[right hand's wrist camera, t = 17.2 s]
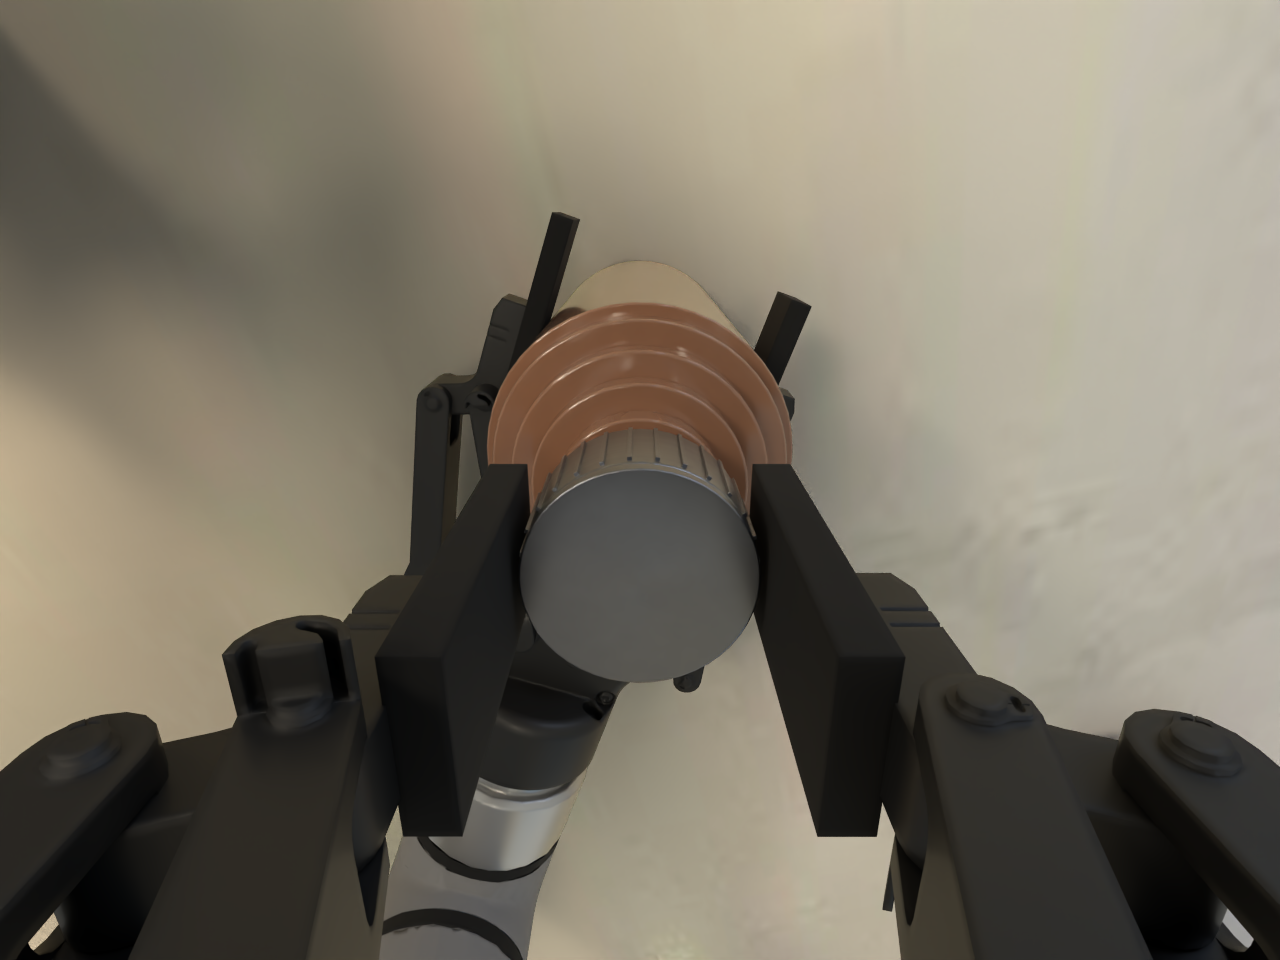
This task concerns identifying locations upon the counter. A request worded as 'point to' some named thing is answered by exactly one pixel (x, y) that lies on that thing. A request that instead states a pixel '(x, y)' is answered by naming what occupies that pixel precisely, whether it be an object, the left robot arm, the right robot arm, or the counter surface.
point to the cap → (639, 558)
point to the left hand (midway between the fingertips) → (682, 258)
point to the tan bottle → (639, 378)
